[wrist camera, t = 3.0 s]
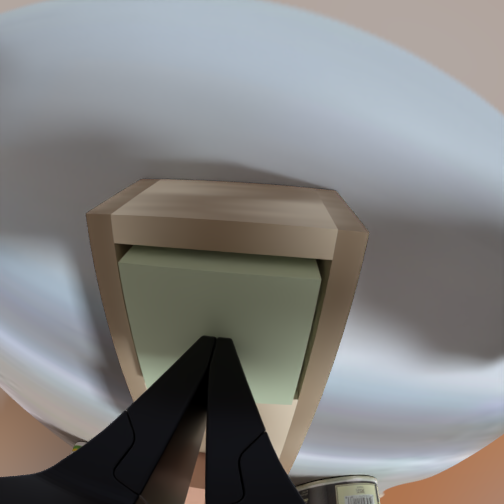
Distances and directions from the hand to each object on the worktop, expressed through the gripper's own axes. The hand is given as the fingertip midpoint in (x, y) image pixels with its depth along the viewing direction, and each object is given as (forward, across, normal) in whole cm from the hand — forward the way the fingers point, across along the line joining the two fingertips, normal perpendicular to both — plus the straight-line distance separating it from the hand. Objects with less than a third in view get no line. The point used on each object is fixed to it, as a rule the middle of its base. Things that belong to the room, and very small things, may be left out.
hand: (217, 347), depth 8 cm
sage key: (+4, 0, 0) cm, 4 cm away
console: (+4, 0, +11) cm, 12 cm away
